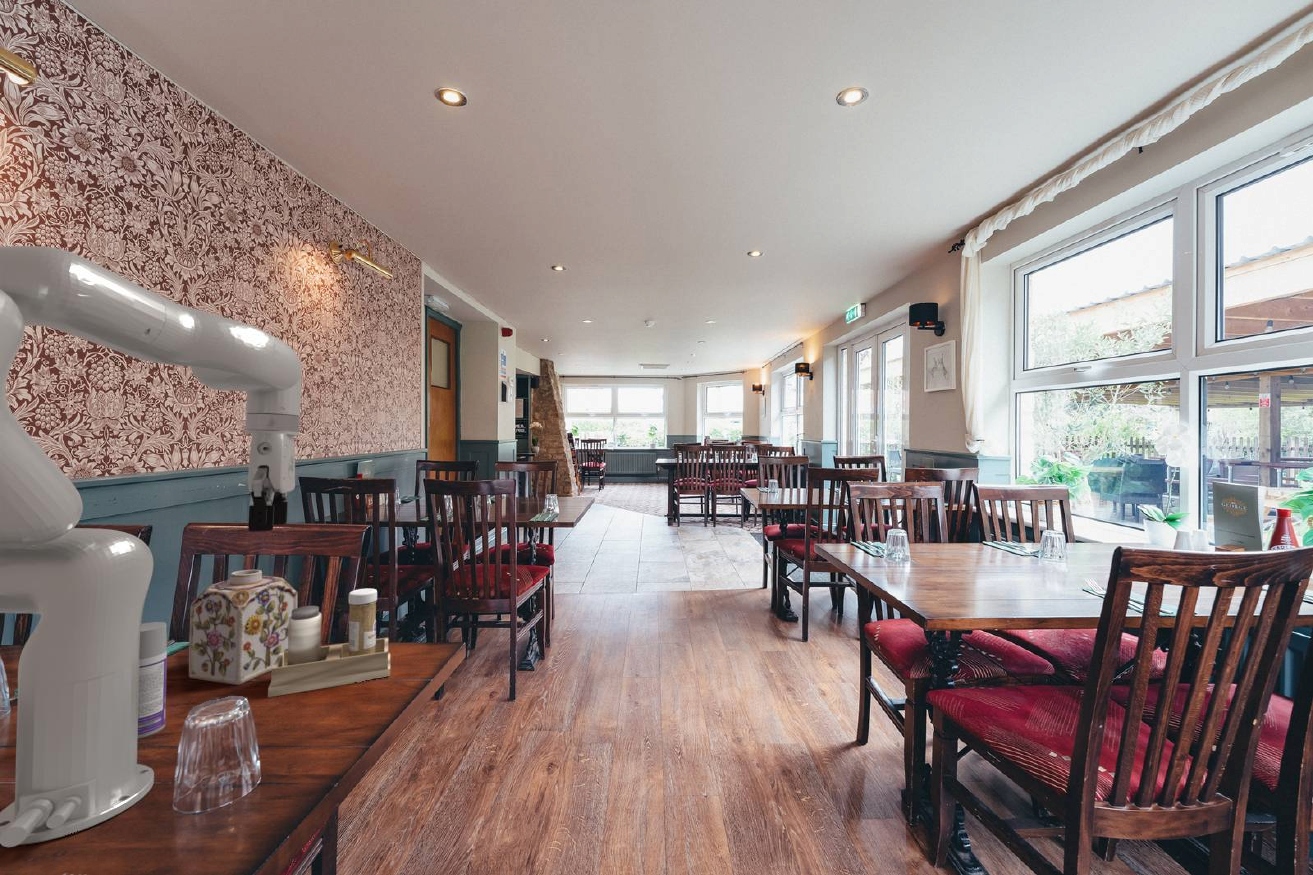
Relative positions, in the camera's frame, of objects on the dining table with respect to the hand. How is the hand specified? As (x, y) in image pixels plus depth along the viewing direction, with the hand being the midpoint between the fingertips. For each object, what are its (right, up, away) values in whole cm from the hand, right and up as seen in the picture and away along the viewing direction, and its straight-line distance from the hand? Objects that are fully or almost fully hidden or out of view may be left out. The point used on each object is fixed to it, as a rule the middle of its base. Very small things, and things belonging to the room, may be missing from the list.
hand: (268, 527), depth 90 cm
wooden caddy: (+8, -28, +5) cm, 29 cm away
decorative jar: (-11, -28, +9) cm, 31 cm away
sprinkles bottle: (+12, -27, +7) cm, 30 cm away
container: (-9, -28, -13) cm, 32 cm away
